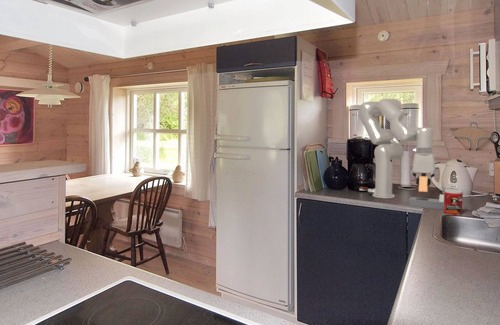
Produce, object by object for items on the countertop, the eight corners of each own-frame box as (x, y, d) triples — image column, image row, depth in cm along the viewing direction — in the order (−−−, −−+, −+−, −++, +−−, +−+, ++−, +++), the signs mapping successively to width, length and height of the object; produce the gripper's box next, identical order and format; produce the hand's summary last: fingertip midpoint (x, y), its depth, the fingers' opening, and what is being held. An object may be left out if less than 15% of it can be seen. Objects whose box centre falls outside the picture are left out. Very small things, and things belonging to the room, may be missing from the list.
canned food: (444, 214, 163) (445, 191, 162) (442, 210, 170) (443, 188, 169) (463, 215, 160) (464, 192, 159) (460, 211, 167) (461, 189, 166)
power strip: (408, 206, 180) (409, 194, 180) (410, 203, 187) (410, 191, 187) (452, 210, 170) (453, 197, 170) (452, 207, 177) (453, 194, 176)
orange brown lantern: (418, 191, 179) (419, 172, 180) (419, 191, 182) (420, 173, 183) (427, 191, 177) (427, 172, 178) (427, 192, 180) (428, 173, 181)
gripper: (405, 151, 179) (405, 185, 180) (442, 151, 170) (441, 188, 172) (407, 150, 185) (406, 184, 187) (442, 151, 177) (441, 185, 178)
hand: (423, 185), depth 179 cm, fingers closed on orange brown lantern, 4 cm apart
